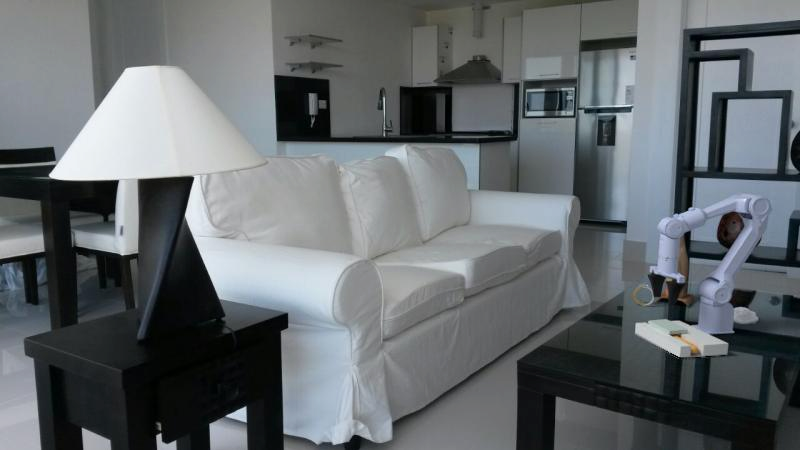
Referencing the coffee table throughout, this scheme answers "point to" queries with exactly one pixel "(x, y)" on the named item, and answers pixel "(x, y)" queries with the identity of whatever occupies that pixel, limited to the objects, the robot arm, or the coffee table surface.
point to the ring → (644, 288)
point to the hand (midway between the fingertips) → (664, 300)
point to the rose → (744, 316)
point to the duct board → (677, 347)
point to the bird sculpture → (683, 271)
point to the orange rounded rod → (693, 348)
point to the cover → (668, 326)
